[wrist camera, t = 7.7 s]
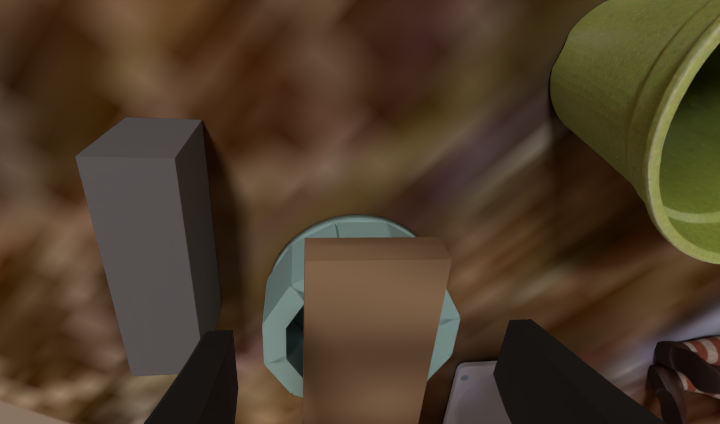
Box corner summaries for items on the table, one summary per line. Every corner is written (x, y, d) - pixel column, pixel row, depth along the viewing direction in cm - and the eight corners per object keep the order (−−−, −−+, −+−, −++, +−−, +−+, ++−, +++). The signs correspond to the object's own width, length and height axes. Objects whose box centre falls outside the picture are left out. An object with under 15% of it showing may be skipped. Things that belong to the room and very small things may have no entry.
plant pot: (480, 27, 18) (618, 61, 10) (701, -108, 16) (1054, -187, 9) (545, 197, 22) (675, 310, 14) (724, 101, 21) (970, 170, 13)
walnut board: (407, 414, 22) (414, 442, 21) (302, 421, 22) (302, 451, 20) (439, 236, 17) (452, 259, 16) (304, 237, 17) (305, 261, 15)
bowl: (421, 344, 26) (441, 400, 22) (271, 350, 24) (266, 411, 21) (446, 214, 22) (474, 258, 18) (265, 213, 20) (259, 261, 17)
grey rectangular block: (221, 304, 22) (205, 372, 19) (161, 306, 22) (132, 376, 18) (201, 119, 18) (174, 158, 14) (125, 117, 17) (75, 156, 13)
